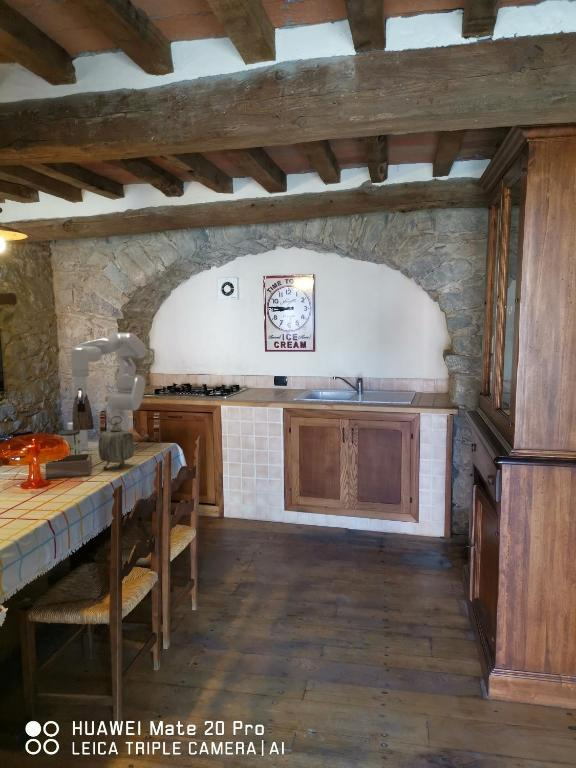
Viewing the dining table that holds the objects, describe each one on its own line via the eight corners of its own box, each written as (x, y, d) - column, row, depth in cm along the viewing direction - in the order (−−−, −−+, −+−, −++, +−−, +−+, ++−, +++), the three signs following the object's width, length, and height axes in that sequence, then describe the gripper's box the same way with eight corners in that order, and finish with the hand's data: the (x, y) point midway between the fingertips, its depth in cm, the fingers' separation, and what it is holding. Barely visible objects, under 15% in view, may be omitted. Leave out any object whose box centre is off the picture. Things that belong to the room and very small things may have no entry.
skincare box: (82, 447, 289) (81, 420, 288) (88, 449, 285) (87, 421, 284) (68, 450, 283) (66, 422, 281) (74, 452, 279) (73, 423, 277)
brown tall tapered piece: (77, 431, 246) (74, 378, 244) (71, 429, 251) (68, 378, 250) (95, 428, 252) (92, 377, 250) (88, 427, 257) (85, 376, 255)
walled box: (51, 470, 244) (50, 456, 243) (92, 467, 249) (91, 453, 248) (46, 479, 230) (45, 463, 230) (89, 476, 235) (88, 460, 235)
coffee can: (60, 457, 269) (58, 430, 268) (81, 455, 273) (80, 428, 271) (58, 461, 260) (57, 434, 258) (81, 460, 263) (79, 432, 262)
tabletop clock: (123, 463, 257) (121, 413, 255) (136, 465, 253) (134, 414, 250) (99, 470, 245) (97, 417, 242) (112, 472, 240) (110, 419, 238)
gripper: (73, 372, 255) (75, 408, 258) (69, 375, 239) (71, 414, 241) (90, 371, 258) (91, 407, 260) (87, 375, 241) (88, 413, 243)
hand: (82, 410), depth 251 cm, fingers closed on brown tall tapered piece, 5 cm apart
